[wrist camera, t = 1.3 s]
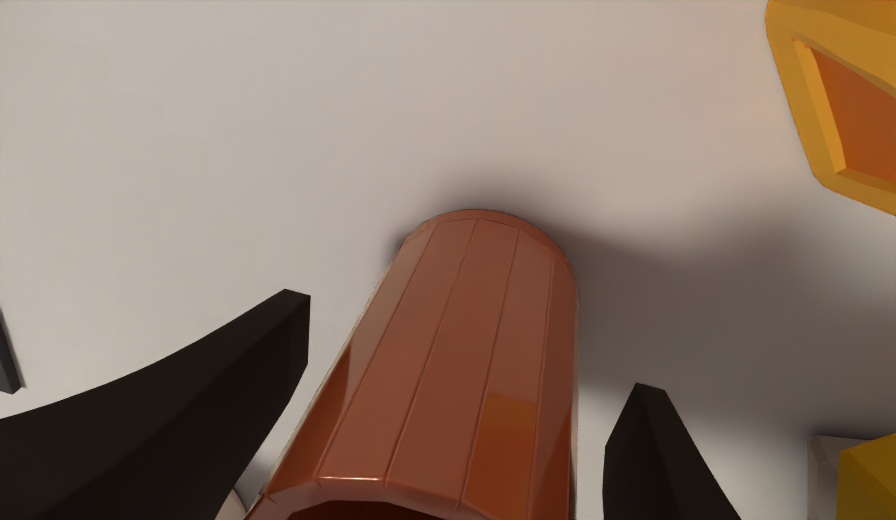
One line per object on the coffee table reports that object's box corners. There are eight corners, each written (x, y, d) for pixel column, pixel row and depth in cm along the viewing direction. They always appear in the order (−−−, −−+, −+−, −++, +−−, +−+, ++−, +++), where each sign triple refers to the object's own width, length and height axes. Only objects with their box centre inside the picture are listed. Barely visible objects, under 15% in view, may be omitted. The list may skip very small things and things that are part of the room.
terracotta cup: (550, 385, 16) (524, 715, 10) (382, 340, 17) (245, 624, 10) (604, 236, 14) (621, 547, 7) (403, 186, 14) (235, 434, 7)
